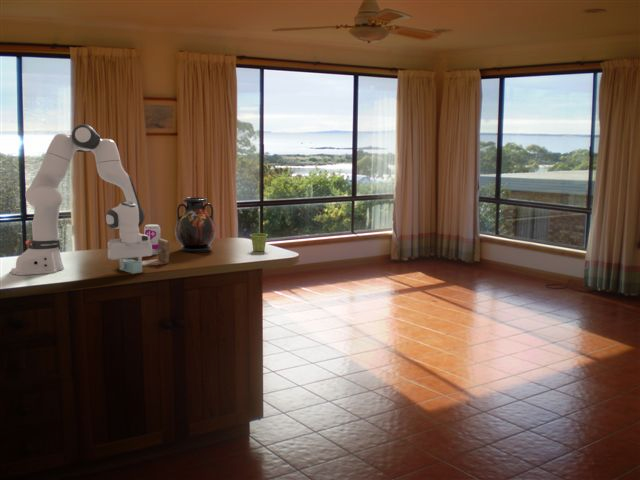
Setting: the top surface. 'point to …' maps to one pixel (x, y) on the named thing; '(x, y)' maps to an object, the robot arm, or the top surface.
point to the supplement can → (153, 236)
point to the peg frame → (163, 254)
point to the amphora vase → (195, 226)
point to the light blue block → (131, 266)
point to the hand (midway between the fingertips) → (130, 267)
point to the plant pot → (258, 241)
